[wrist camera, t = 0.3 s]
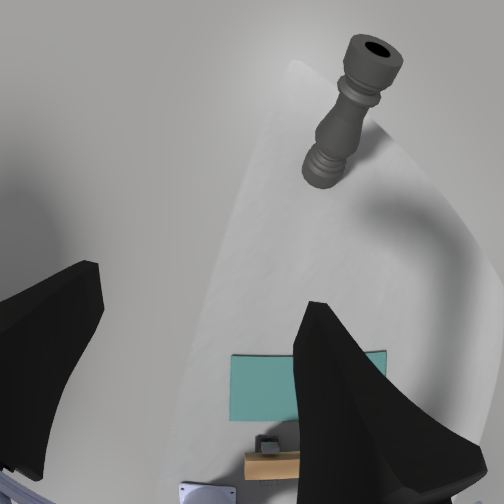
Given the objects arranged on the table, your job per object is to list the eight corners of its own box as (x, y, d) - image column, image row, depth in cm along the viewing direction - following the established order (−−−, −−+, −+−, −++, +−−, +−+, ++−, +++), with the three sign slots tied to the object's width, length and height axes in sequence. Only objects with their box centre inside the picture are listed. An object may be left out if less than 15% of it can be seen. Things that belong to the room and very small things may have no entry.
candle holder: (325, 152, 47) (377, 32, 23) (345, 181, 45) (416, 67, 22) (294, 163, 46) (335, 34, 22) (314, 194, 44) (377, 70, 20)
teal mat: (382, 409, 36) (383, 410, 35) (229, 419, 35) (229, 420, 34) (384, 351, 38) (386, 351, 38) (230, 355, 37) (230, 356, 37)
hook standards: (356, 459, 33) (371, 472, 28) (254, 468, 32) (257, 485, 27) (359, 426, 35) (375, 437, 29) (255, 434, 34) (258, 448, 29)
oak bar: (376, 457, 30) (384, 463, 28) (244, 470, 29) (245, 479, 27) (378, 440, 31) (387, 445, 28) (244, 452, 30) (245, 460, 28)
